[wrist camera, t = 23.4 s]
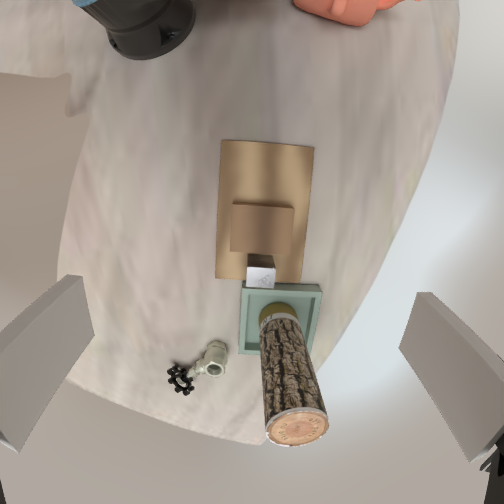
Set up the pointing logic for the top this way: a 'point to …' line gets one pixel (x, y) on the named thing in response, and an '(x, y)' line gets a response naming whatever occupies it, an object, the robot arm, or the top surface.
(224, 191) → the board
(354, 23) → the teapot
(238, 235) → the walnut plate
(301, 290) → the tray
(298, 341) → the log cylinder
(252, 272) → the block
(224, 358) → the valve
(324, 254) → the top surface
